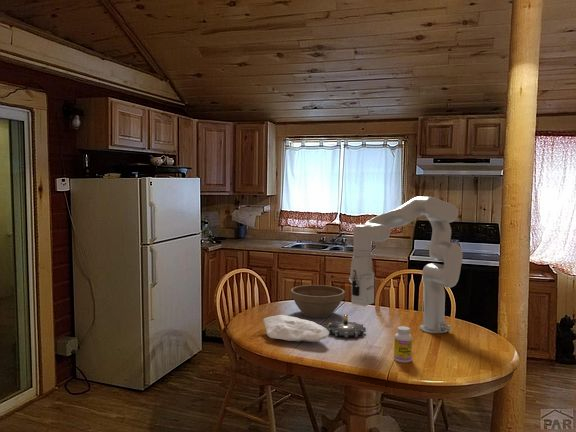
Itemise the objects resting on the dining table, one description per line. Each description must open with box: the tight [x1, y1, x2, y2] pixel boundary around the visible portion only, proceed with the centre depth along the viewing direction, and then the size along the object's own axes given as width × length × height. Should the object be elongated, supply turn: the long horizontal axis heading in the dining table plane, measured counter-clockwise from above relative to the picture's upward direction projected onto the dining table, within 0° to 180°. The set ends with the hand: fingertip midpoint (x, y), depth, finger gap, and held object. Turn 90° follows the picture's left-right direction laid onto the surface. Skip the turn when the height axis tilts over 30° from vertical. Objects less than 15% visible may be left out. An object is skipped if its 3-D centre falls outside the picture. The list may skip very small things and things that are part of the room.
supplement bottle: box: [393, 325, 413, 364], centre depth 184 cm, size 7×7×13 cm
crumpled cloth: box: [262, 314, 330, 343], centre depth 211 cm, size 24×35×9 cm
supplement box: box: [351, 274, 375, 307], centre depth 203 cm, size 7×7×13 cm
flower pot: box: [290, 284, 346, 319], centre depth 248 cm, size 28×28×13 cm
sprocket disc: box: [325, 313, 367, 338], centre depth 218 cm, size 18×18×6 cm
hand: (361, 293), depth 204 cm, fingers closed on supplement box, 7 cm apart
